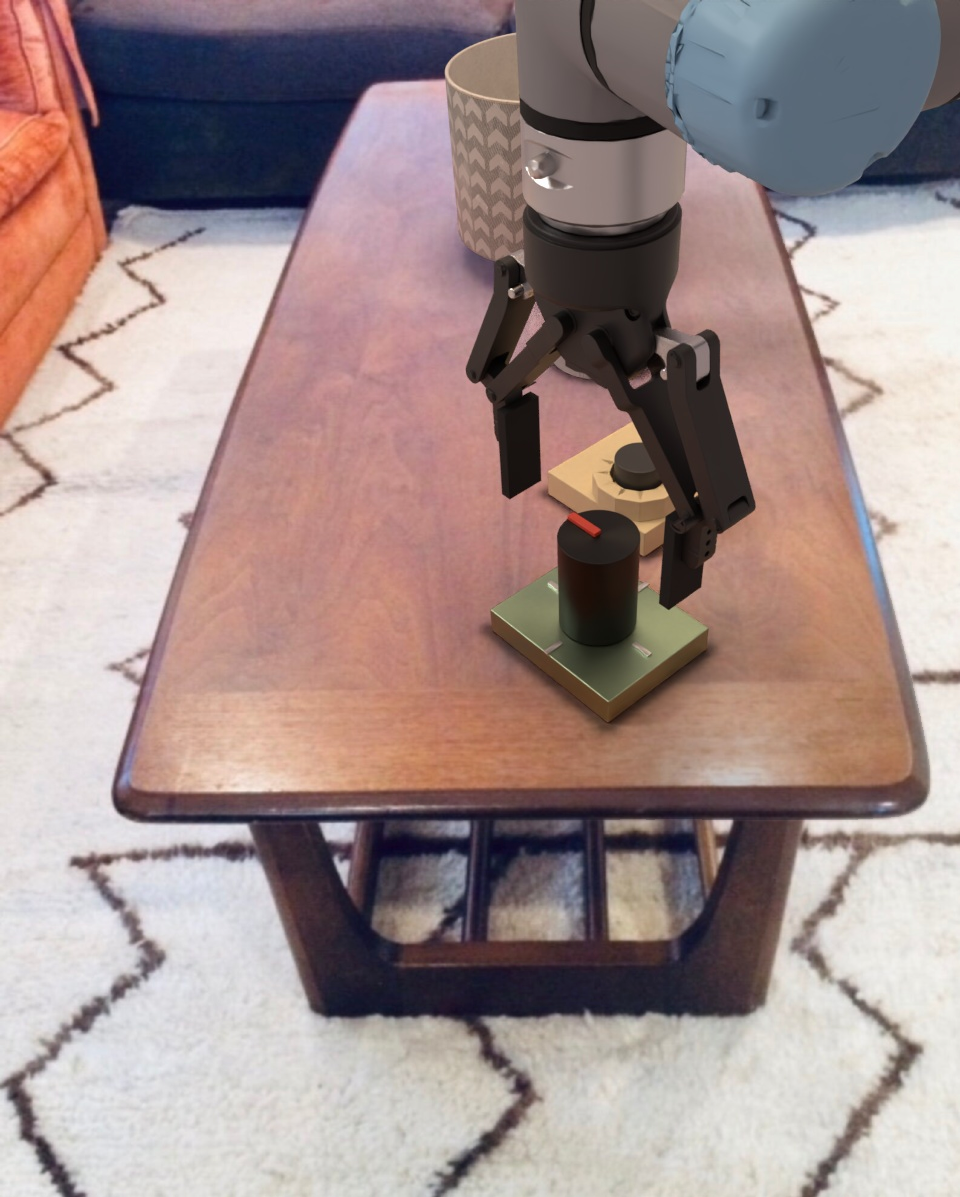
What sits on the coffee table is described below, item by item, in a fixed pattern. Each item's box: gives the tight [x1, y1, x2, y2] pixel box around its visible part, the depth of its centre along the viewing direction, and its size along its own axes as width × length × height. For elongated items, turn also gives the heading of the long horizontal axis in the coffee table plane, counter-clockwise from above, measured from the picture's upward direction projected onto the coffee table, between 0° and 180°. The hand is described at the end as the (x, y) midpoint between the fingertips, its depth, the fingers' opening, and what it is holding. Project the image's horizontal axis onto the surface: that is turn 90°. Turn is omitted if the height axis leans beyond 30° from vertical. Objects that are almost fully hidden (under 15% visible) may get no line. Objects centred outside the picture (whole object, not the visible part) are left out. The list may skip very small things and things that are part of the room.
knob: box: [556, 510, 641, 646], centre depth 68 cm, size 5×5×7 cm
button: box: [614, 442, 662, 491], centre depth 78 cm, size 4×4×2 cm
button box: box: [547, 421, 698, 557], centre depth 81 cm, size 10×9×4 cm
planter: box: [444, 32, 528, 263], centre depth 105 cm, size 19×19×18 cm
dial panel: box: [490, 565, 710, 723], centre depth 72 cm, size 11×9×2 cm
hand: (596, 538), depth 66 cm, fingers open, 13 cm apart
